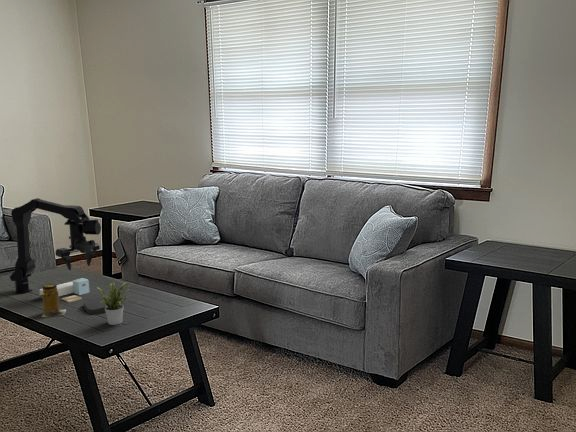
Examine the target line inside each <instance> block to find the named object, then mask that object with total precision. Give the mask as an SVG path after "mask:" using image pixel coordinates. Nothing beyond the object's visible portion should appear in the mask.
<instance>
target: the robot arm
mask: <svg viewBox="0 0 576 432" xmlns="http://www.w3.org/2000/svg"><path fill="white" fill-rule="evenodd" d="M36 210H41V211H45V212H50V213H53V214H57V215H60V216H62V217H63V218H65V219H67V220H66V221H65V223H64V225H65V226H68V227H69V236H68V240H70V244H69V248H66V247H61V248H57V249H56V250H55V252H54V253H55V256H57V257H59V258H61V260H63V262H64V264H65V265H66V267H67V269H68V270H69V271H71V270H72V263H71V257H72V256H71V254H73V253H77V252H80V253H81V254H85V258H86V260H85V261H86V264H87V267H90V266H91V263H92V260H93V257H94V255H95V253H97V252H98V251H100V249H101V245H100V244H99V243H97V242H96V241H95V240H94V239H91V240H87V237H86V236H85V235H100V233H101V231H102V226H101V222H99V219H97V218H96V219H90V218H89V216H88V215H87V214H86V213H85V210H84V208H83V207H82V206H80V205H73V204H72V205H67V204H66V205H65V204H60V203H57V202H54V201H53V202H52V201H47V200H44V199H42V198H38V197H36V198H33V199H30V200H29V201H28V202H26V203H25V204H23V205H21V206H18V207H14V208H13V209H12V210H11V212H10V215H11V219H12V222H13V224H14V226H15V228H16V229H15V231H16V244H17V259H16V262H15V265H14V271H13V272H12V274H11V275H9V278H10V281H11V282H14V289H12V293H15V294H18V295H20V294H25V293H28V292H32V291H33V289H32V288H30V285H29V284H30V283H29V277H31V276H32V275H33V274H32V273H33V272H34V271H35V268H36V260H35V259H34V258H33V259H32V258H31V255H30V254H31V253H30V239H29V224H30V223H31V222H30V221H31V218H32V214H33V212H35V211H36ZM84 234H85V235H84Z"/></svg>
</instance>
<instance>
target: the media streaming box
mask: <svg viewBox="0 0 576 432" xmlns="http://www.w3.org/2000/svg"><path fill="white" fill-rule="evenodd" d="M103 296H104V297H105V295H103ZM103 296H97V297H93V298H90V299H88V300H84V302H83V308H84V310H85V311H86V313H87V314H89V315H90V314H91V315H97V314H106V312H105V307H106V306H107V305H106V304H105V303H101V301H99V300H104V299H103ZM107 296H108V297H109V299H110V295H107ZM105 298H106V297H105ZM121 298H122V297H121ZM121 298H120V299H121ZM106 299H107V298H106ZM110 300H111V299H110ZM104 301H105V300H104ZM107 301H108V299H107ZM120 301H123V299H121V300H120ZM108 302H109V301H108ZM109 303H110V302H109ZM119 304H120V305H123V306H124V301H123V302H122V303H119ZM110 305H111V303H110Z"/></svg>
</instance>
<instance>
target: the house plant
mask: <svg viewBox="0 0 576 432" xmlns="http://www.w3.org/2000/svg"><path fill="white" fill-rule="evenodd" d="M108 284H109V288H110V289H109V290H110V291H109V295H108V294H107V293H106V292H105V291H104V290H103V289H102V288H100V287H99V286H96V288H97V289H99V291H100V294H101V295H102V296H101V297H103V299H104V300H105V301H104V300H99V301H101V303H105V304H106V305H107V306H106V307H105V316H106V319H107V324H108V325H109V326H110V325H111V326H116V325H120V324H122V323H123V318H124V316H123V315H124V308H125V307H124V304H123V305H120V304H119V303H122V302H123V303H124V301H125V300H126V299H127V298H130V295H128V296H123V295H124V293H126V292H127V291H128V289H126V288H128V287H132V284H129V285H127V286H126V285H125V284H127V281H125V282H124V283H123V284H121V286H120V287H119V288H117V286H116V284H115V282H114V281H112V282H111V283H110V282H109V283H108ZM125 289H126V290H125ZM104 296H105V297H106V298H107V299H108V301H109V302H110V303H111V305H110V303H109V302H108V301H107V299H106V298H105V297H104ZM108 296H110V299H111V300H110V299H109V297H108ZM120 298H121V299H120ZM120 300H122V301H120Z"/></svg>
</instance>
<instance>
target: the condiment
mask: <svg viewBox="0 0 576 432" xmlns="http://www.w3.org/2000/svg"><path fill="white" fill-rule="evenodd" d="M57 285H58V284H55V283H48V284H44V285H43V286H42V289H43V293H42V297H43V298H42V306H43V308H42V309H43V314H42V315H41V318H47V317H48V318H49V317H50V318H51V317H56V316H58V317H59V316H65V314H66V311H67V309H61V308H60V296H59V295H58V291H57Z"/></svg>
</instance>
